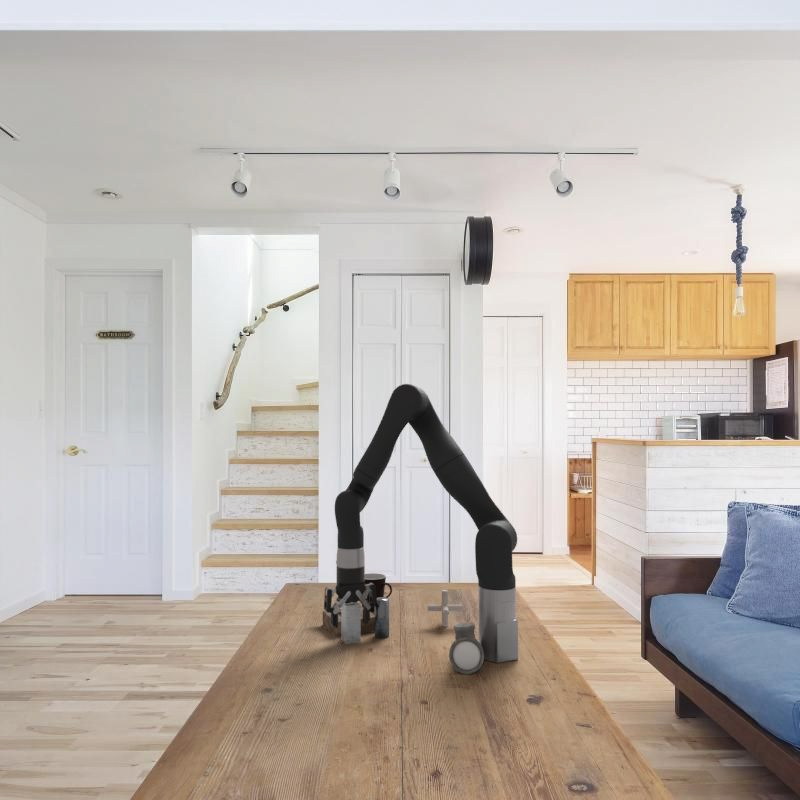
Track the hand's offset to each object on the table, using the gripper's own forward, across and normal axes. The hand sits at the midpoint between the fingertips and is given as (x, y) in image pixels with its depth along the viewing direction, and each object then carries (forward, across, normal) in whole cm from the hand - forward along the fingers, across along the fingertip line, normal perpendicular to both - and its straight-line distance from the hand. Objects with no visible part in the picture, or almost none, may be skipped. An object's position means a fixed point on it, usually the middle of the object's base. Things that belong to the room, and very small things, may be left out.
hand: (350, 625), depth 174 cm
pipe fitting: (+4, +19, -29) cm, 35 cm away
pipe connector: (+4, +29, 0) cm, 29 cm away
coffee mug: (+4, +17, +24) cm, 30 cm away
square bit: (+4, 0, 0) cm, 4 cm away
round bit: (+4, +9, 0) cm, 10 cm away
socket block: (+4, +4, +10) cm, 12 cm away
